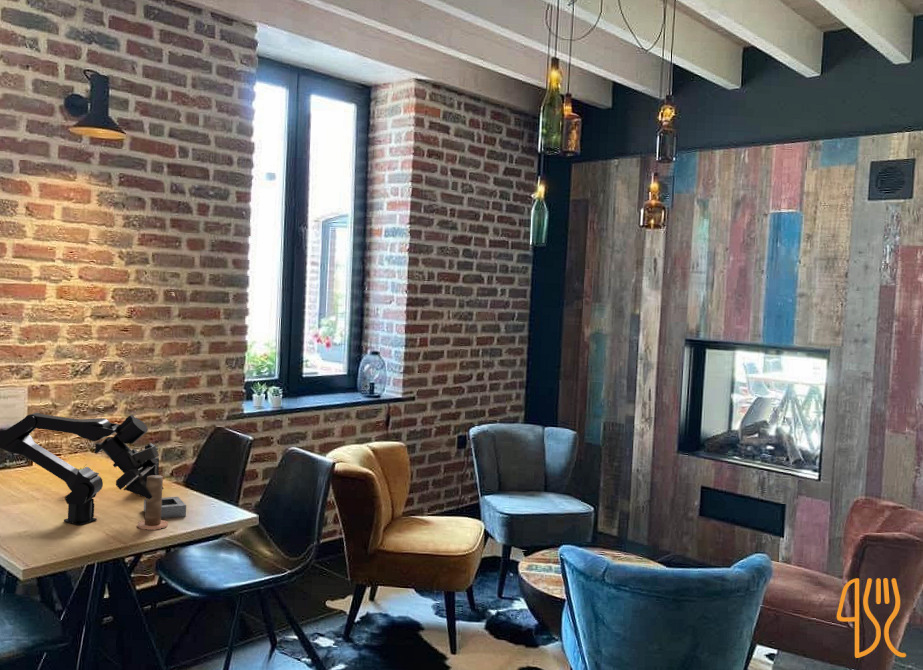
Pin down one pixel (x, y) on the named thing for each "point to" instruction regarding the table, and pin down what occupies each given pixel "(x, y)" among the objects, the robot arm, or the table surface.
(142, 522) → the terracotta coaster
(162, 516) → the metal socket
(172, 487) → the table surface
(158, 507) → the walnut peg
